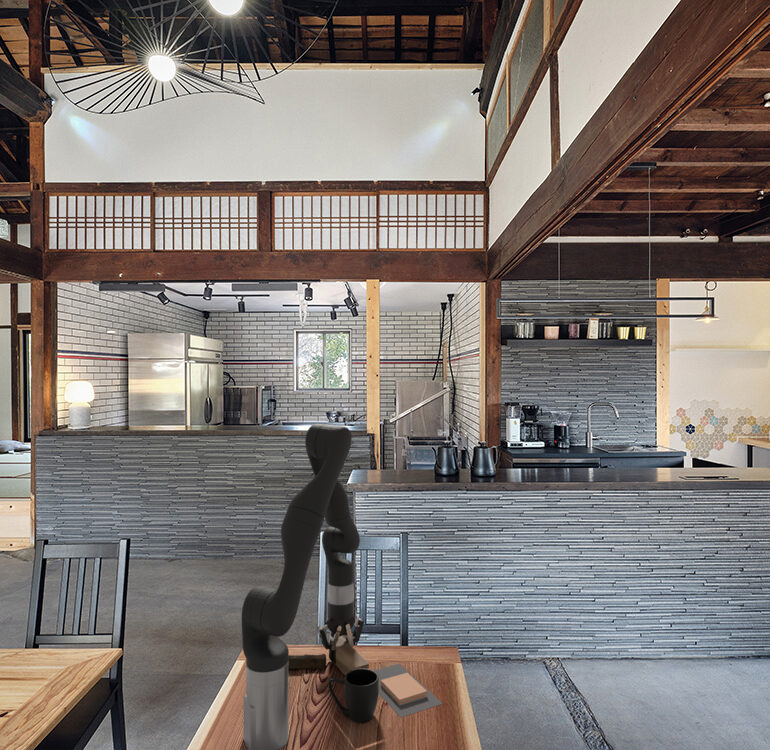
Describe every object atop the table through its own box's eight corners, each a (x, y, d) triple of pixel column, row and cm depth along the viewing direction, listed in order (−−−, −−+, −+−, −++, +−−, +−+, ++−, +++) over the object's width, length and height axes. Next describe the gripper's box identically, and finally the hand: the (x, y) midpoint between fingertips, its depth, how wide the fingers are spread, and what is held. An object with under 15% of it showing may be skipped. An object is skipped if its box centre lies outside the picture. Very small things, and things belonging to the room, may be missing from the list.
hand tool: (326, 665, 152) (326, 648, 153) (325, 672, 148) (325, 655, 149) (260, 665, 153) (260, 648, 153) (256, 672, 149) (257, 655, 149)
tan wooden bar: (354, 687, 138) (354, 667, 138) (328, 656, 154) (328, 638, 154) (368, 683, 140) (368, 663, 140) (341, 653, 156) (341, 635, 156)
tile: (380, 686, 140) (399, 706, 131) (380, 680, 140) (399, 699, 131) (407, 678, 144) (427, 697, 135) (407, 672, 144) (427, 691, 135)
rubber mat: (400, 719, 127) (400, 717, 127) (360, 675, 146) (360, 674, 146) (442, 705, 133) (442, 703, 133) (399, 664, 152) (399, 663, 152)
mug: (332, 705, 133) (332, 666, 133) (380, 708, 131) (380, 668, 132) (325, 726, 124) (325, 684, 125) (376, 729, 123) (376, 687, 123)
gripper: (322, 608, 145) (321, 672, 145) (369, 598, 152) (369, 660, 151) (312, 598, 152) (312, 660, 151) (358, 589, 158) (358, 648, 158)
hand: (340, 659), depth 151 cm, fingers closed on tan wooden bar, 4 cm apart
